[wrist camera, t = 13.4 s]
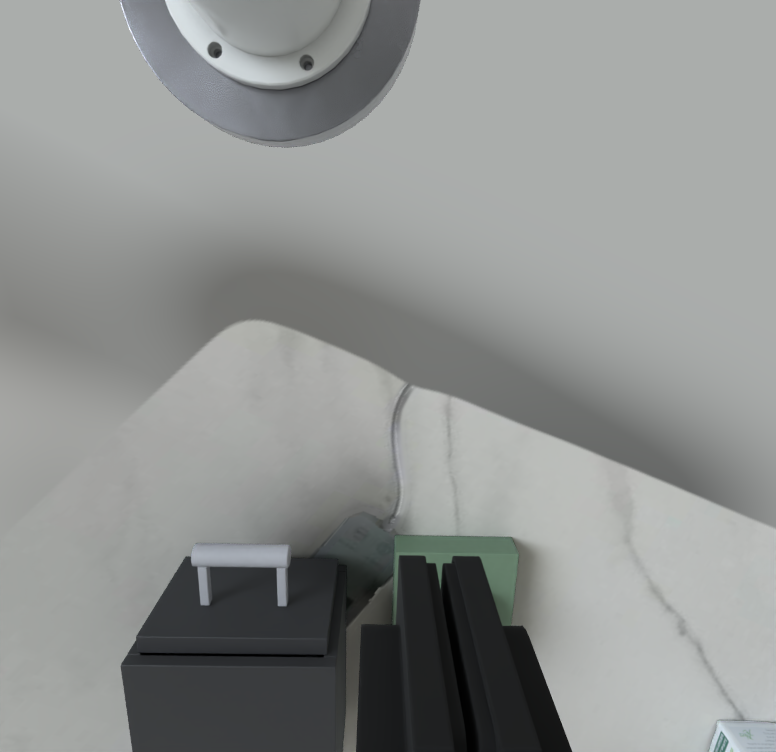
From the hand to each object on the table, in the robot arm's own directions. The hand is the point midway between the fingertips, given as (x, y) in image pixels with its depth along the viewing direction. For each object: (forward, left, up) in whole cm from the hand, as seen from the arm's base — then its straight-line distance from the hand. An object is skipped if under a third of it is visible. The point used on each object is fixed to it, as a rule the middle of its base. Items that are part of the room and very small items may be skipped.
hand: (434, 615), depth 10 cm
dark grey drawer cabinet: (+18, -19, -25) cm, 36 cm away
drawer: (+14, -17, -24) cm, 33 cm away
